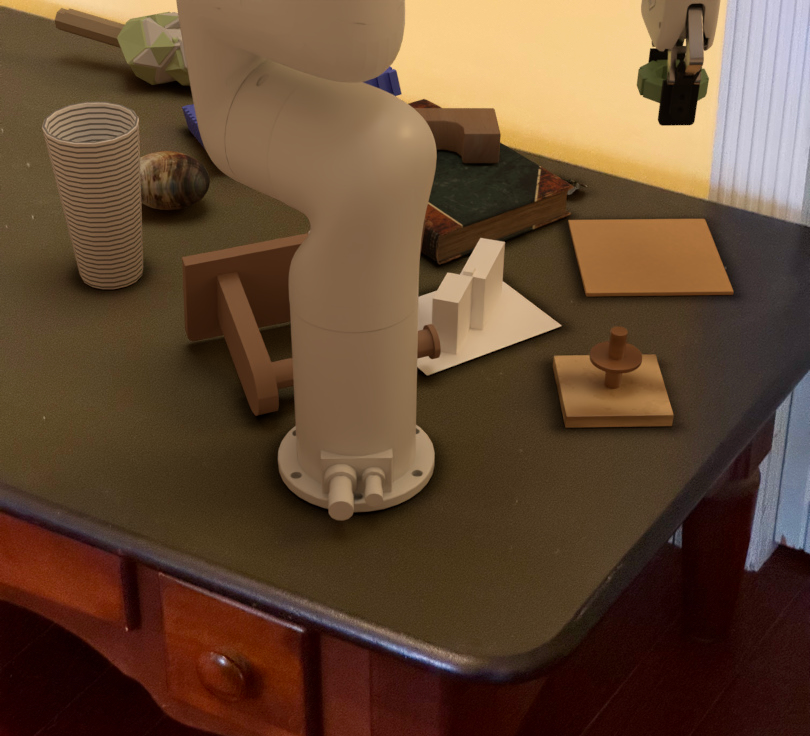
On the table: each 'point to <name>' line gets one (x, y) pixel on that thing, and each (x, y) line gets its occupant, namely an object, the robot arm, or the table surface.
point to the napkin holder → (478, 311)
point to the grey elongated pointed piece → (573, 185)
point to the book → (487, 200)
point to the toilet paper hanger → (253, 311)
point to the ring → (661, 80)
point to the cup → (99, 188)
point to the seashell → (172, 180)
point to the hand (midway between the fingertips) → (669, 105)
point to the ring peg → (612, 386)
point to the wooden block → (465, 132)
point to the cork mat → (648, 257)
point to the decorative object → (136, 42)
